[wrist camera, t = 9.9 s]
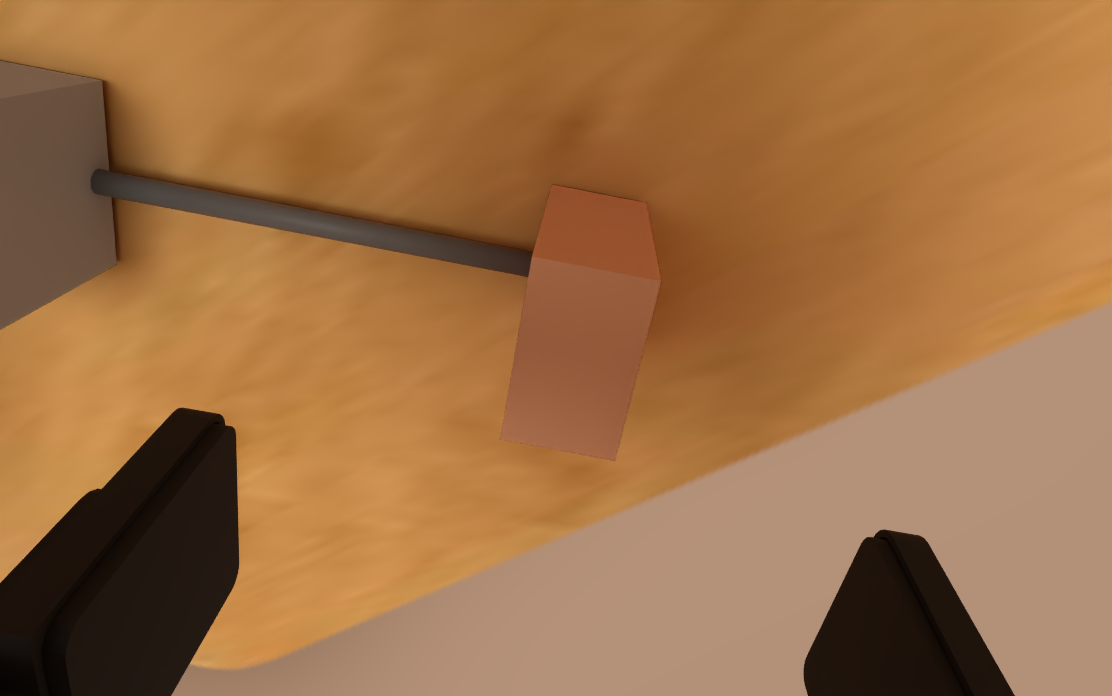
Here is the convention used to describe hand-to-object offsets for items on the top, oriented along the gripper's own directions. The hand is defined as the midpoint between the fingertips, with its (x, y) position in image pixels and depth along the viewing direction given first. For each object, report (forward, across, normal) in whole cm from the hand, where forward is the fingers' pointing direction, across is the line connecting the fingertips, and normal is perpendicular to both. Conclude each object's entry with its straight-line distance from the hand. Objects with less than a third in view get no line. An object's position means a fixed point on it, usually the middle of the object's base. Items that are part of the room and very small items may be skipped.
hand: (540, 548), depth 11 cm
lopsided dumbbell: (+15, +9, +1) cm, 17 cm away
